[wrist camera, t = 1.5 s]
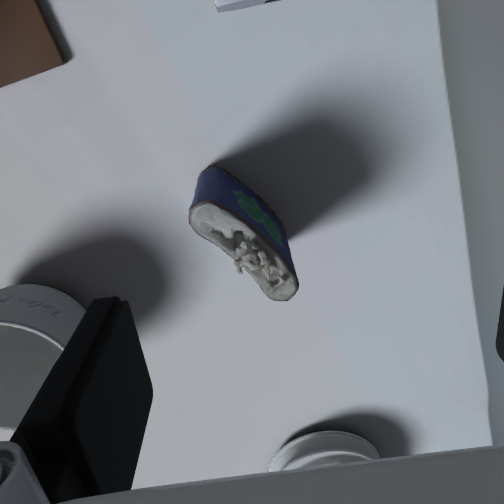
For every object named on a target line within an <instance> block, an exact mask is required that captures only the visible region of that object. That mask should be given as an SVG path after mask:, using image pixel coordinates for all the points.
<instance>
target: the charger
mask: <svg viewBox="0 0 504 504" xmlns="http://www.w3.org/2000/svg"><path fill="white" fill-rule="evenodd" d="M275 1H280V0H215V3H216V8H217V11H218V12H226V11H231V10H237V9H242V8H247V7H251V6H256V5H261V4H266V3H271V2H275Z"/></svg>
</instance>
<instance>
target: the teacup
mask: <svg viewBox="0 0 504 504" xmlns="http://www.w3.org/2000/svg"><path fill="white" fill-rule="evenodd" d="M85 312H86V310H85V309H84V308H83V307H82V306H81V305H80V304H79V303H78V302H77V301H76V300H75V299H73V298H72V297H70V296H69V295H67V294H65V293H63V292H61V291H59V290H57V289H54V288H51V287H47V286H42V285H36V284H21V285H14V286H9V287H6V288H3V289H0V429H4V430H12V431H16V429H17V427H18V425H19V424H20V422H21V420H22V419H23V417H24V415H25V413H26V412H27V410H28V408H29V407H30V405H31V403H32V402H33V400H34V398H35V396H36V395H37V393H38V391H39V390H40V388H41V386H42V384H43V383H44V381H45V379H46V378H47V376H48V374H49V373H50V371H51V369H52V367H53V366H54V364H55V362H56V361H57V360H58V358H59V357H60V355H61V354H62V352H63V350H64V348H65V347H66V345H67V343H68V342H69V340H70V338H71V336H72V335H73V333H74V331H75V330H76V328H77V326H78V324H79V323H80V321H81V319H82V318H83V316H84V314H85Z"/></svg>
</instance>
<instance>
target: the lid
mask: <svg viewBox="0 0 504 504" xmlns="http://www.w3.org/2000/svg"><path fill="white" fill-rule="evenodd" d="M374 459H380V456H379V454H378V452H377V450H376V449H375V447H374V446H373V445H372V444H371V443H369V442H368V441H367V440H365V439H364V438H362V437H360V436H358V435H355V434H352V433H348V432H343V431H320V432H314V433H310V434H306V435H304V436H301V437H298V438H296V439H295V440H293V441H291V442H289V443H288V444H286V445H285V446H284V447H282V448H281V449H280V450H279V451H278V452H277V453H276V454H275V456H274V457H273V459H272V460H271V463H270V465H269V468H268V472H275V471H283V470H291V469H299V468H307V467H315V466H323V465H332V464H340V463H348V462H357V461H365V460H374Z"/></svg>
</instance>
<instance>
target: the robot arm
mask: <svg viewBox="0 0 504 504" xmlns="http://www.w3.org/2000/svg"><path fill="white" fill-rule="evenodd" d="M496 350H497V353H498V355H499V356H500V358H501V359H502V360H503V361H504V288H503V295H502V302H501V309H500V316H499V323H498V330H497V338H496ZM152 399H153V388H152V383H151V379H150V376H149V372H148V369H147V365H146V362H145V358H144V355H143V351H142V348H141V344H140V341H139V337H138V334H137V330H136V327H135V323H134V320H133V316H132V313H131V309H130V306H129V303H128V302H127V301H121V299H120V298H119V297H118V296H113V297H105V298H97V299H94V300H93V301H92V302H91V304H90V306H89V307H88V309H87V311H86V312H85V314H84V316H83V318H82V319H81V321H80V323H79V324H78V326H77V328H76V330H75V331H74V333H73V335H72V336H71V338H70V340H69V342H68V343H67V345H66V347H65V348H64V350H63V352H62V354H61V355H60V357H59V358H58V360H57V361H56V362H55V364H54V366H53V367H52V369H51V371H50V373H49V374H48V376H47V378H46V379H45V381H44V383H43V384H42V386H41V388H40V390H39V391H38V393H37V395H36V396H35V398H34V400H33V402H32V403H31V405H30V407H29V408H28V410H27V412H26V413H25V415H24V417H23V419H22V420H21V422H20V424H19V425H18V427H17V429H16V431H15V432H14V434H13V436H12V437H11V439H10V441H0V504H504V444H503V445H494V446H485V447H476V448H468V449H459V450H451V451H442V452H433V453H425V454H416V455H408V456H399V457H391V458H382V459H374V460H365V461H357V462H348V463H340V464H332V465H323V466H315V467H307V468H299V469H291V470H283V471H275V472H267V473H258V474H250V475H242V476H234V477H226V478H218V479H210V480H202V481H194V482H186V483H178V484H171V485H163V486H155V487H147V488H141V489H134V490H131V487H132V483H133V479H134V475H135V470H136V466H137V462H138V458H139V454H140V450H141V445H142V441H143V437H144V433H145V429H146V425H147V420H148V416H149V412H150V408H151V404H152Z"/></svg>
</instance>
